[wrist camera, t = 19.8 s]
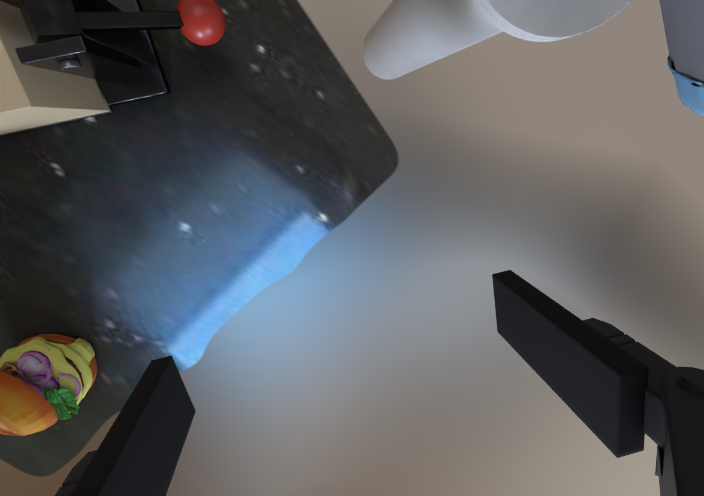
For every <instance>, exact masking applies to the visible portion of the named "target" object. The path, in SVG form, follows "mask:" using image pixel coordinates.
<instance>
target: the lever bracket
mask: <svg viewBox="0 0 704 496" xmlns="http://www.w3.org/2000/svg"><path fill="white" fill-rule="evenodd" d="M0 1H2V2H5V3H7V4H10V5H12V6H14V7H17V8H19V9H21V4H22V0H0ZM71 1H72V4H73V6H74V9H75V11H76V12H143V10H142V7H141V4H140V1H139V0H71ZM15 51H16V53H17V55H18V57H19V60H20V62H21V64H24V65H29V66H33V67H38V68H43V69H48V70H53V71H58V72H62V73H67V74H72V75H77V76H82V77H87V78H92V79H96V80H98V81H99V84H100V86H101V89H102V91H103V94H104V96H105V99H106V101H107V104H108V105H117V104H122V103H127V102H132V101H136V100H141V99H146V98H150V97H155V96H160V95H164V94H169V93H171V92H170V89H169V86H168V83H167V80H166V77H165V74H164V71H163V68H162V66H161V63H160V60H159V57H158V54H157V51H156V48H155V45H154V42H153V39H152V36H151V33H150V30H137V31H110V32H84V36H80V35H79V36H74V37H69V38H64V39H59V40H55V41H50V42H45V43H40V44H35V45H30V46H25V47H20V48H16V49H15Z"/></svg>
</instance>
